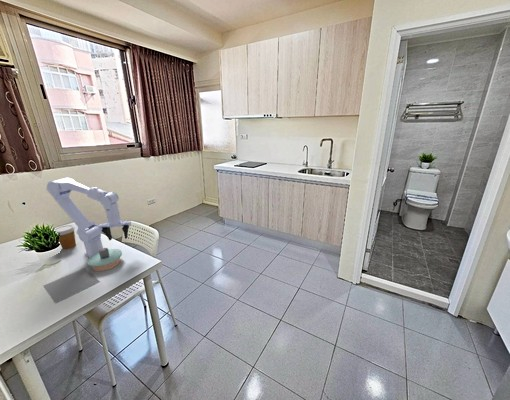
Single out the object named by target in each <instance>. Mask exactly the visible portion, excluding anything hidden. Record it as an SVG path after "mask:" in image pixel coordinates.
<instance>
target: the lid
mask: <svg viewBox="0 0 510 400" xmlns="http://www.w3.org/2000/svg"><path fill="white" fill-rule="evenodd" d="M122 256H123V252H122V250H121V249H117V248H110V249H109V248H108V247H103V248H102V249H100V250H99V252H98V253H96V254H94V255H92V256H91V257H89V258H88V259H87V260H86V263H87V265H88V266H89V267H92V266H93V267H97V266H104V265H107V264H110V263H112V262H114V261H116V260H118V259H119V258H120V259H121V257H122Z"/></svg>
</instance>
